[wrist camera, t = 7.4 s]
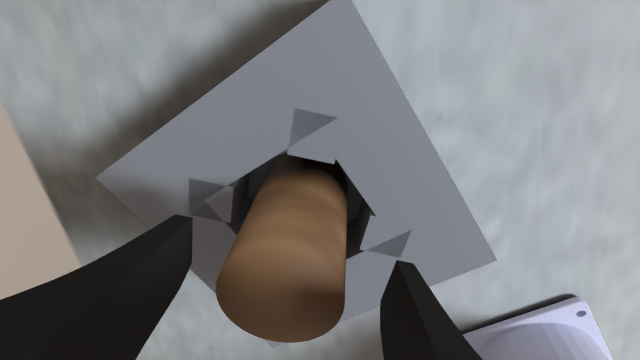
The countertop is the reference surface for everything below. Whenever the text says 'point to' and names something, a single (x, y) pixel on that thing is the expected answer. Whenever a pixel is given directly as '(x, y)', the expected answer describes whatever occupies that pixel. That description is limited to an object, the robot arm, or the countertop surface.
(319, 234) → the walnut pin
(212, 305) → the countertop surface
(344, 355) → the countertop surface
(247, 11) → the countertop surface
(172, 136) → the bore block
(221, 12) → the countertop surface
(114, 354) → the robot arm
